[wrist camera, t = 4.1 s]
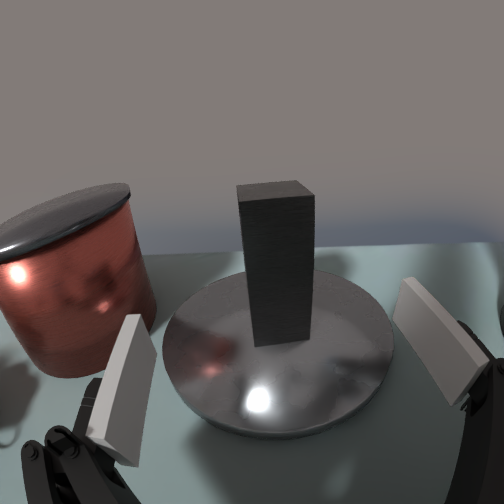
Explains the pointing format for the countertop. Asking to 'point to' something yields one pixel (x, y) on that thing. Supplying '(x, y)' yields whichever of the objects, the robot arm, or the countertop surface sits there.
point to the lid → (278, 331)
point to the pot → (73, 279)
